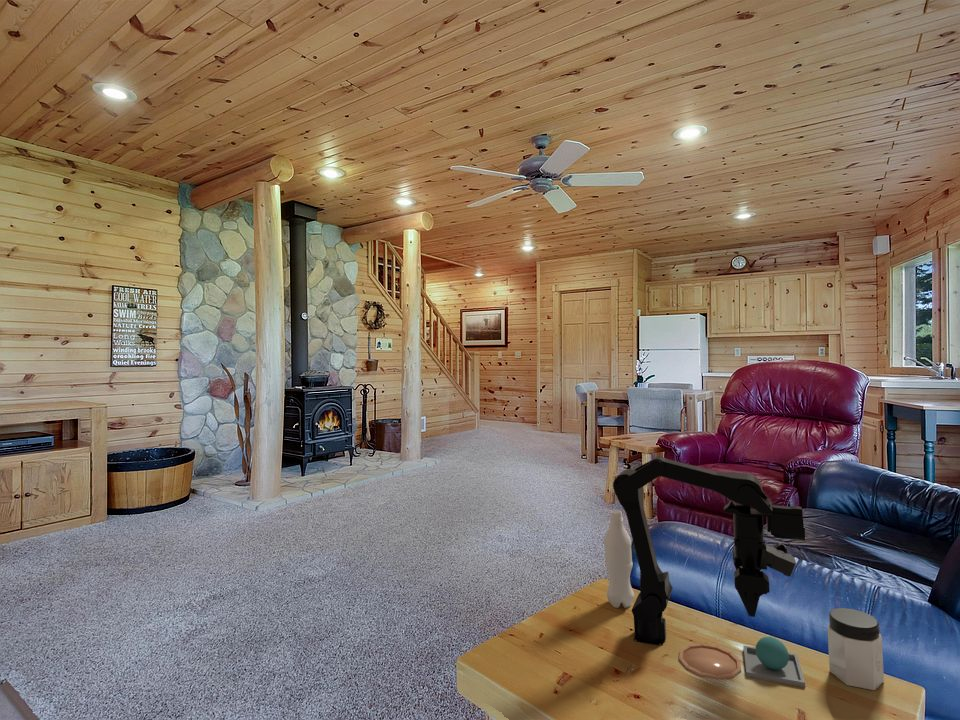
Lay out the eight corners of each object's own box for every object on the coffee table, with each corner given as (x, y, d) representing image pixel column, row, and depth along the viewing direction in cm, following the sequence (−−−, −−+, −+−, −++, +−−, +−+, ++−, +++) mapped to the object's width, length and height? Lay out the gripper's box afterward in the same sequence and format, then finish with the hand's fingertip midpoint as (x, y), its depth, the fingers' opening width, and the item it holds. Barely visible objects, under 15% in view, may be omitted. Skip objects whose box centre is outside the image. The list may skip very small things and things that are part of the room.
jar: (871, 696, 97) (868, 633, 97) (823, 675, 104) (820, 616, 104) (889, 678, 102) (886, 618, 102) (843, 659, 109) (840, 603, 109)
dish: (678, 674, 107) (677, 669, 107) (681, 644, 117) (680, 639, 117) (742, 686, 102) (742, 681, 102) (739, 654, 113) (739, 649, 113)
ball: (757, 672, 105) (756, 643, 105) (755, 656, 110) (753, 628, 110) (791, 679, 102) (790, 649, 102) (787, 661, 108) (785, 633, 108)
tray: (746, 679, 104) (746, 671, 104) (743, 652, 113) (743, 645, 113) (805, 690, 100) (805, 682, 100) (797, 661, 109) (797, 654, 109)
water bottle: (608, 610, 135) (603, 515, 135) (606, 597, 142) (601, 507, 142) (636, 611, 133) (631, 515, 133) (632, 598, 141) (628, 507, 141)
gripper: (798, 555, 98) (800, 635, 98) (786, 524, 115) (788, 593, 115) (733, 547, 103) (735, 624, 103) (731, 519, 120) (733, 585, 120)
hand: (750, 606), depth 110 cm, fingers open, 9 cm apart
